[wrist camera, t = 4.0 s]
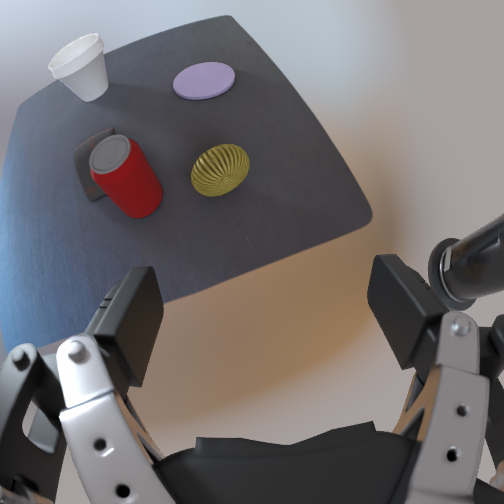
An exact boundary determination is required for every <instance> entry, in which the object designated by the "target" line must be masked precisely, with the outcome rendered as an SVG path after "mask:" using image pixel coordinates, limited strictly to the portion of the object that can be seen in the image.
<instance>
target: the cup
mask: <svg viewBox="0 0 504 504" xmlns="http://www.w3.org/2000/svg"><path fill="white" fill-rule="evenodd" d="M103 47H104V44H103V42H102V40H101V38H100V35H99V34H97V33H93V34H88V35H85V36H83V37H81V38H79V39H77V40H75V41H73V42H71V43H70V44H68V45H67V46H65V47H64V48H63V49H62V50H60V51H59V52H58V53H57V54H56V55H55V56H54V57H53V58H52V60H51V61H50V63H49V66H48V67H49V69H50V70H51V72H52V74H53V76H54V77H55V78H58V79H59V80H60V81H61V82H63V83H64V84H65V85H66V86H67V87H68V88H70V89H71V90H72V91H73V92H74V93H75V94H77V95H78V96H79V97H80V98H81V99H82V100H84V101H85V102H89V101H92V100H95V99H97V98H98V97H100V96H101V95H102V94H103V93H104V92H105V91H106V90H107V88H108V86H109V85H108V80H107V74H106V68H105V61H104V54H103Z"/></svg>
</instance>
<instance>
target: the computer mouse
mask: <svg viewBox="0 0 504 504" xmlns="http://www.w3.org/2000/svg"><path fill="white" fill-rule="evenodd" d="M112 135H116V134H115V131H114V128H113V127H112V128H109V129H106V130H104V131H102V132H100V133H98V134H96V135H94V136H92V137H91V138H89V139H87V140H86V141H84V142H83V143H81V144H80V145H79V146H78V147H77V148H76V149H75V152H74V160H75V166H76V170H77V174H78V177H79V180H80V182H81V184H82V187H83V189H84V191H85V193H86V195H87V197H88V199H89V201H91V202H93V201H95V200H97V199H99V198H101V197H103V196H105V195H106V193H105V192H104V191H103V190H102V189H101V188H100V187H99V186H98V184H97V183H96V182H95V181H94V180H93V178H92V176H91V167H90V164H89V160H90V156H91V153H92V151H93V150H94V148H95V147H96V146H97V145H98V144H99V143H100V142H101V141H102V140H104V139H105V138H107V137H109V136H112Z"/></svg>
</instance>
